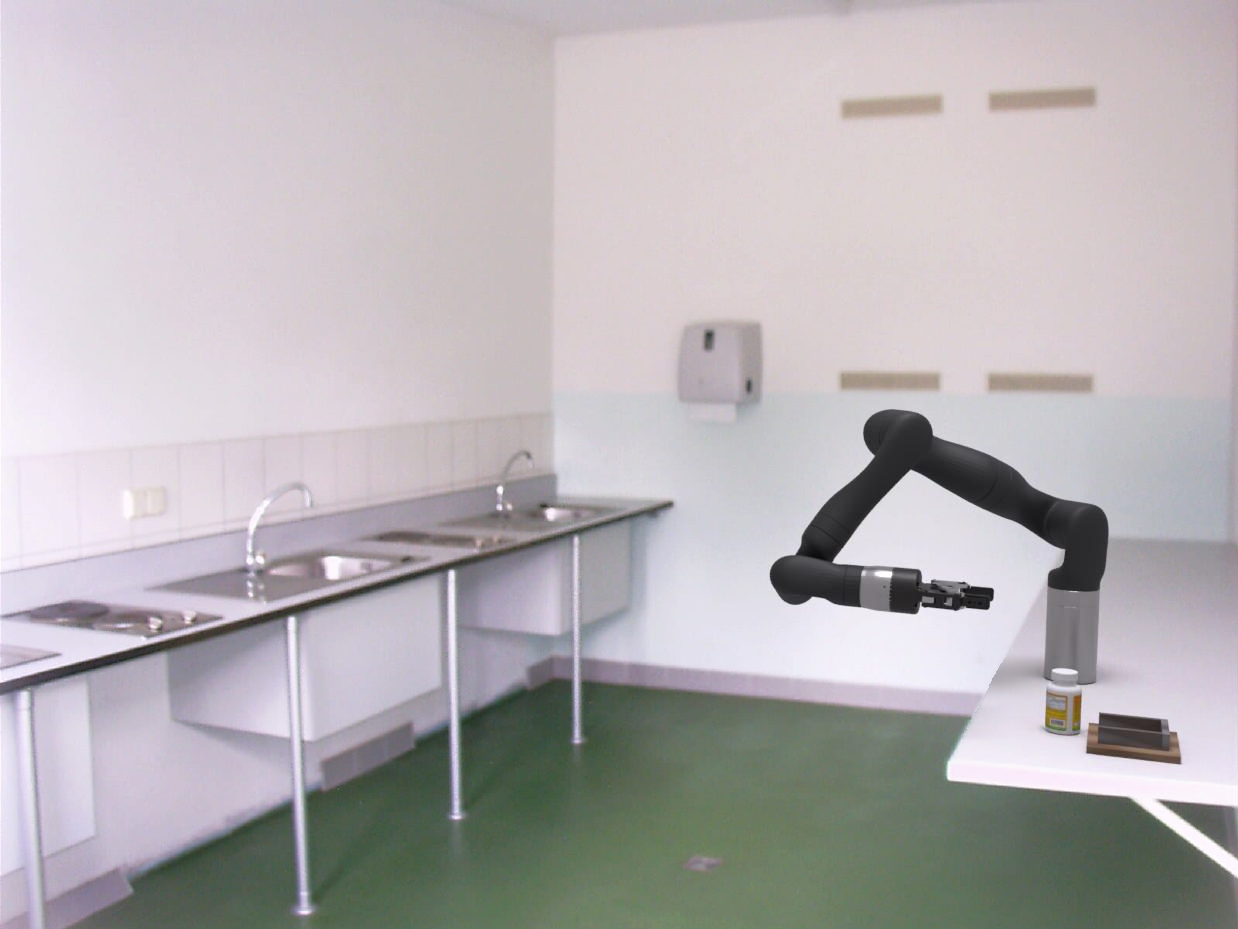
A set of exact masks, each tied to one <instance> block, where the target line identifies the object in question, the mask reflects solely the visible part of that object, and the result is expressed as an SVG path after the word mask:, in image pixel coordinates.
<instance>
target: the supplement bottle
mask: <svg viewBox="0 0 1238 929" xmlns="http://www.w3.org/2000/svg"><path fill="white" fill-rule="evenodd" d="M1051 678H1052V680H1051V681H1050V682H1049V683H1047V684H1046V687H1045V688H1046V689H1045V690H1046V691H1045V713H1044V714H1045V715H1044V728H1045V730H1046V731H1048V732H1049V733H1054V734H1056V735H1063V736H1069V735H1070V736H1072V735H1077V734H1080V732H1081V722H1082V721H1081V720H1082V701H1083V699H1082V696H1083V693H1082V692H1083V689H1082V687H1081V686H1080V684H1076V682H1077V681H1078V672H1077V671H1075V670H1072V669H1064V668H1057V669H1052V673H1051Z"/></svg>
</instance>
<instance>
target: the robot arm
mask: <svg viewBox="0 0 1238 929" xmlns="http://www.w3.org/2000/svg"><path fill="white" fill-rule="evenodd" d="M862 435H863V436H862V437H863V441H864V444H865V446H866V447H867V450H868V451H869V452H870V453H871V454H872V455H873V456H874V457H873V458H872V459H871V461H870V462H869V463H868V464H867V466H865V468H864V469H863V470H861V472H859V474H857V475H856V477H854V478H853V479H852V480H850V482H848V483H847V484H845V485H844V486H843V487H842V488H840V489H839V490H838V491H837V492H835V493H834V494H833V495H832V496H831V497H830V498H828V500H827V501H826V502H825V503H824V504H823V505H822V507H821V508H820V509H819V511H818V512H817V513H816V514H815V516H814V517H813V518H812V520H811V521H810V523H809V524H808V525H807V527H806V528H805V529H804V531H803V533H802V535H801V539H800V540H801V541H800V542H801V543H800V546H799V548H798V549H797V551H796V553H795V554H790V555H785V556H782V557H779V558H778V559H777V560H776V561H774V563H772V565H771V567H770V570H769V581H770V583H771V586H772V588H774V590H775V592H776V593H777V595H778V597H779V598H780V599H781V600H782V601H783V602H784V603H787V605H791V606H798V605H802V604H805V603H807V602H808V601H810V600H811V599H812V598H818V599H824V600H826V601H828V602H830V603H831V604H832V605H838V606H843V607H853V608H863V609H868V610H870V611H877V612H885V613H897V614H906V615H907V614H908V615H917V614H918V613H919V611H920V609H921V607H922V608H924V609H925V608H931V609H939V610H947V611H948V610H949V611H954V612H957V611H961V610H964V609H971V610H983V611H988V610H990V608H991V602H993V601H994V597H995V589H994V588H993V587H989V586H988V587H986V586H976V585H975V586H974V585H971V584H969V583H968V582H966V581H952V580H941V579H935V578H933V579H931V580H930V582H926V583H925V582H923V574H922V571H921V570H920V569H919V568H909V567H898V566H889V565H888V566H886V565H857V564H850V563H849V564H846V563H845V564H844V563H842V564H841V563H836V562H834V561H835V558H836V557H838V555H839V554H840V552H841V551H842V550H843V549H844V547H845V546H846V544H847V543H848V542H849V541H850V539H851V538H852V537H853V535H854V534H855V532H856V531H857V529H859V527H860V526H861V524H862V523H863V522H864V520H866V517H867V516H868V515H869V514H870V513H871V512H872V511H873V510H874V509H875V508H876V506H877V505H878V504H880V502H881V501H882V499H883V498H885V496H886V495H887V494H888V493H890V492H891V490H892V489H893V488H895V486H896V485H897V484H898V483H899V482H901V480H902V479H903V478H904V477H905V476H906V475H907V474H908V473H909V472H910V471H913V472H915V473H918V474H920V475H921V476H923V477H925V478H927V479H928V480H930V481H932V482H933V483H934V484H937V485H938V486H940V487H942V488H943V489H945V490H946V491H949V492H950V493H952V494H954V495H956V496H958V497H959V498H961V499H962V500H965V501H966V502H968V503H970V504H972V505H974V506H976V507H978V508H980V509H982V510H984V511H987V512H989V513H992V514H993V515H996V516H998V517H1001V518H1004V519H1007V520H1009V521H1011V522H1014V523H1016V524H1018V525H1020V526H1022V527H1023V528H1026V529H1027V530H1028V531H1030V532H1031V533H1033V534H1034V535H1036V536H1037V537H1038V538H1040V539H1041V540H1043V541H1044V542H1046V543H1048V544H1049V545H1051V546H1052V547H1056V548H1058V549H1061V550H1064V556H1063V562H1062V564H1061V565H1060V566H1059V567H1056V568H1053V569H1051V570H1049V572H1048V574H1047V589H1046V590H1047V591H1046V592H1047V593H1046V616H1045V617H1046V618H1045V638H1044V639H1045V640H1044V641H1045V643H1044V663H1043V664H1044V666H1043V667H1044V668H1043V677H1044V678H1046V679H1049V680H1050V681H1053V680H1052V678H1051V673H1052V669H1057V668H1064V669H1072V670H1075V671H1077V672H1078V681H1077V682H1076V684H1078V685H1083V684H1084V685H1085V684H1086V685H1087V684H1091V683H1094V682H1096V681H1097V669H1098V666H1097V665H1098V644H1099V641H1098V640H1099V622H1100V621H1099V620H1100V600H1101V599H1100V593H1101V592H1100V591H1101V581H1102V579H1103V577H1104V574H1105V572H1106V566H1107V557H1108V548H1109V547H1108V546H1109V534H1110V528H1109V520H1108V517H1107V515H1106V513H1105V511H1104V510H1103V509H1102V508H1101V507H1099V506H1098V505H1095V504H1093V503H1086V502H1081V501H1075V500H1069V499H1063V498H1060V497H1056V496H1053V495H1051V494H1049V493H1046V492H1043V491H1041V490H1039V489H1037V488H1035V487H1034V486H1032V485H1031V484H1030V483H1029V482H1028V481H1027V480H1026V479H1025V477H1024V476H1023V475H1022V474H1021V473H1020V472H1019V471H1018V470H1017V469H1015V468H1014V467H1012V466H1011V465H1009V464H1008V463H1006V462H1004V461H1002V460H1000V459H998V458H997V457H995V456H993V455H990V454H988V453H986V452H984V451H981V450H977V449H976V448H973V447H969V446H965V445H963V444H960V443H955V442H952V441H950V440H946V439H943V438H940V437H937V436H935V435H934V430H933V428H932V424H931V422H930V420H928V418H927V417H926V416H924V415H923V414H921V413H919V412H915V411H912V410H904V409H893V408H890V409H889V408H888V409H883V410H880V411H877V412H875V413H874V414H872V415H870V416H869V417H868V419H867V420H866V422H865V423H864V425H863V432H862Z"/></svg>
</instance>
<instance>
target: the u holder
mask: <svg viewBox="0 0 1238 929" xmlns="http://www.w3.org/2000/svg"><path fill="white" fill-rule="evenodd" d="M1086 754H1092V755H1099V756H1100V755H1101V756H1107V757H1109V756H1110V757H1117V758H1126V759H1127V758H1128V759H1135V760H1143V761H1151V762H1161V763H1168V764H1170V763H1171V764H1178V765H1181V763H1182V754H1181V750H1180V742H1179V737H1178V732H1177V731H1170V726H1169V719H1166V718H1159V717H1157V718H1156V717H1150V716H1149V717H1148V716H1139V715H1138V716H1137V715H1128V714H1127V715H1126V714H1120V713H1107V712H1100V711H1099V712H1098V723H1095V722H1088V727H1087V740H1086Z"/></svg>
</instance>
